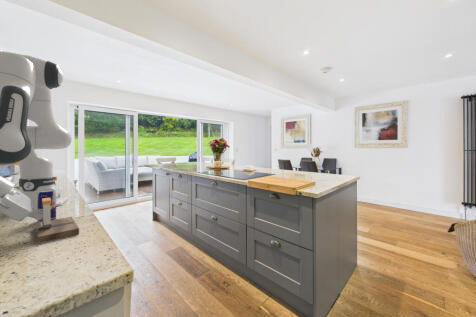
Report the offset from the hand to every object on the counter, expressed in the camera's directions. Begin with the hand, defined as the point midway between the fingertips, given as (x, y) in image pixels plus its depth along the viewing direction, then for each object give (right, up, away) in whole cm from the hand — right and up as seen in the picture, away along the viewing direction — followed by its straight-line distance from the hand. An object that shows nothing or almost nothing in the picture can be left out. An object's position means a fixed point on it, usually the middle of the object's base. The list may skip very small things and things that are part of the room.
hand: (40, 217), depth 67 cm
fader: (+1, -3, +1) cm, 4 cm away
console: (+3, -6, +3) cm, 7 cm away
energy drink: (-10, -5, +13) cm, 17 cm away
